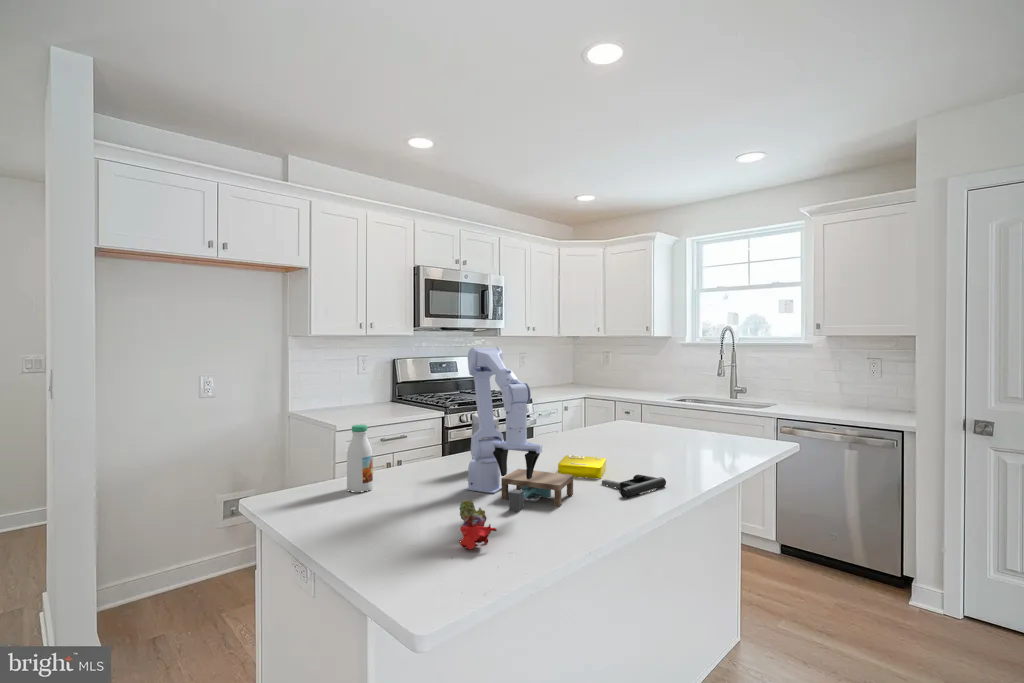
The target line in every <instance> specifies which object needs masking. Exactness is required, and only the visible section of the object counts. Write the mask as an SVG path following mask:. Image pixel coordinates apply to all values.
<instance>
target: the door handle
mask: <svg viewBox="0 0 1024 683" xmlns="http://www.w3.org/2000/svg"><path fill="white" fill-rule="evenodd" d="M602 484H605V485H604V486H606V485H608V486H607V487H609V486H612V487H611V488H613V487H616V488H619V489H618V490H619V492H620V496H621V497H622V498H631V497H634V496H638V495H637V494H642V495H644V494H643V493H645V494H647V493H646V492H648V493H650V492H649V491H652V490H655V491H657V490H658V489H660V487H661V488H665V486H666V484H667V480H666V479H665V478H664V477H661V476H660V477H654V476H648V475H644V474H643V475H642V474H635V475H634V476H633V478H631V479H627V480H624V481H614V480H610V479H602V480H601V485H602ZM616 488H615V489H616ZM656 489H657V490H656ZM652 492H653V491H652Z"/></svg>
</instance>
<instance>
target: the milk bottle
mask: <svg viewBox="0 0 1024 683" xmlns="http://www.w3.org/2000/svg"><path fill="white" fill-rule="evenodd" d="M367 433H368V425H366V424H353V425H352V427H351V434H352V437H351V440H350V443H349V446H348V448H347V452H346V453H347V454H346V487H347V488H346V489H347V491H348V490H349V491H354V492H361V491H367V490H370V489H371V490H372V489H373V488H374V486H373V485H374V476H373V475H374V467H373V466H374V465H373V461H374V458H373V449H372V446H371V443H370V441H369V439H368V436H367ZM371 490H370V491H371ZM349 491H348V492H349ZM367 492H368V491H367ZM361 493H362V492H361Z"/></svg>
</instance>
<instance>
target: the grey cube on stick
mask: <svg viewBox="0 0 1024 683" xmlns="http://www.w3.org/2000/svg"><path fill="white" fill-rule="evenodd" d="M532 493H534V494H538V495H540V496H541V497H542V498H547V497H550V498H552V490H550V489H542V488H534V487H526V486H522V489H521V490H519V489H512V490H510V491H508V500H509V501H508V503H509V504H508V507H509V510H508V511H510V512H517V513H520V512H522V511H523V510H524V508H525V506H524V504H525V500H524V498H526V497H527V496H529V495H530V494H532ZM541 497H540V498H541Z"/></svg>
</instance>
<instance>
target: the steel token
mask: <svg viewBox="0 0 1024 683" xmlns="http://www.w3.org/2000/svg"><path fill="white" fill-rule="evenodd" d="M540 500H541V497H540V495H538V494H534V493H532V494H530V495H529V496H527V497H526V498H524V502H525V501H526V502H530V503H531V502H533V501H534V502H538V501H540Z"/></svg>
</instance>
